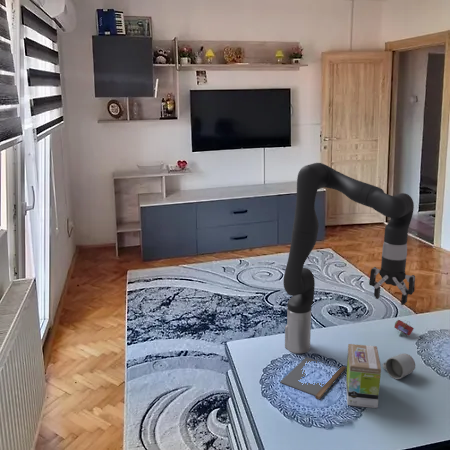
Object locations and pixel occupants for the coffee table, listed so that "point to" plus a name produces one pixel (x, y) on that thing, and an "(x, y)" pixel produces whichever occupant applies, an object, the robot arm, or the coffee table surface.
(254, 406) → the coffee table surface
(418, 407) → the coffee table surface
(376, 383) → the tea box
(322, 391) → the rail
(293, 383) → the mat
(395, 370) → the ceramic mug
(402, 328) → the geometric puzzle
